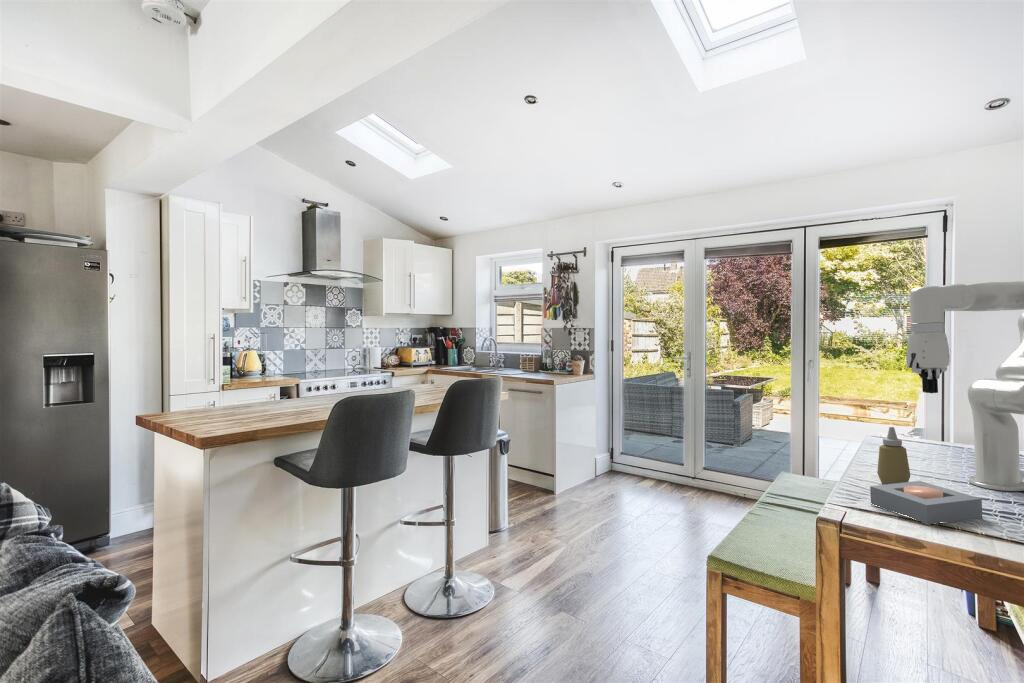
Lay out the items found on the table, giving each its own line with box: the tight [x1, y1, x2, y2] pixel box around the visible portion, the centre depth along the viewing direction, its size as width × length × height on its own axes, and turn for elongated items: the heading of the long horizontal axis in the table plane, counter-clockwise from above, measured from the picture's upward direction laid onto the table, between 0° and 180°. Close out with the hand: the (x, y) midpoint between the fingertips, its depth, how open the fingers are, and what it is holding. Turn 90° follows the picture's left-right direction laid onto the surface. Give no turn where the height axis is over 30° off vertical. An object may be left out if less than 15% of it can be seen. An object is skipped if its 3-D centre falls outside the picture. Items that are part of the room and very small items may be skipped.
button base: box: [869, 480, 983, 526], centre depth 131 cm, size 16×16×5 cm
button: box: [904, 486, 943, 499], centre depth 131 cm, size 8×8×5 cm
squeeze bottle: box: [877, 426, 911, 485], centre depth 151 cm, size 8×8×18 cm
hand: (930, 392), depth 144 cm, fingers closed
